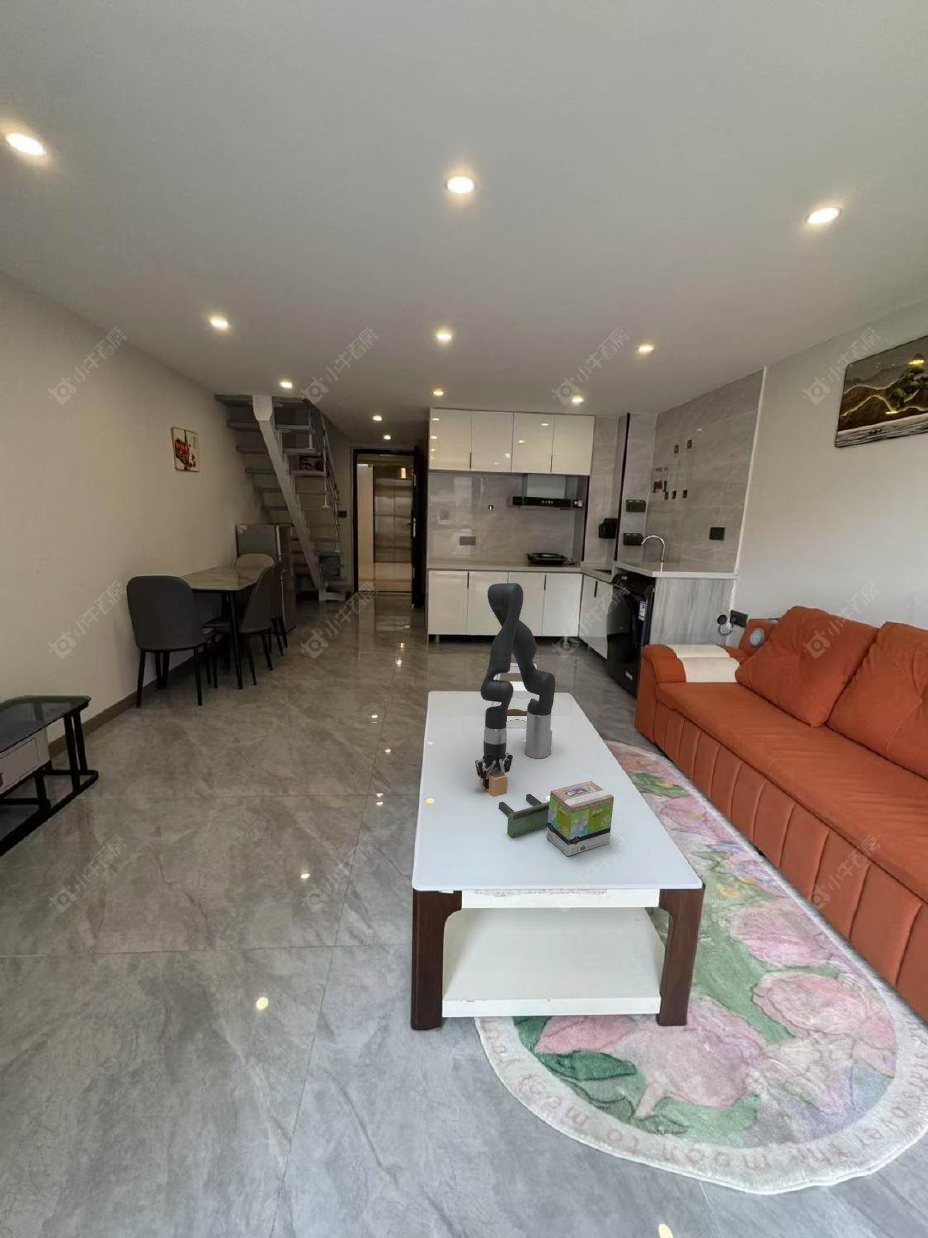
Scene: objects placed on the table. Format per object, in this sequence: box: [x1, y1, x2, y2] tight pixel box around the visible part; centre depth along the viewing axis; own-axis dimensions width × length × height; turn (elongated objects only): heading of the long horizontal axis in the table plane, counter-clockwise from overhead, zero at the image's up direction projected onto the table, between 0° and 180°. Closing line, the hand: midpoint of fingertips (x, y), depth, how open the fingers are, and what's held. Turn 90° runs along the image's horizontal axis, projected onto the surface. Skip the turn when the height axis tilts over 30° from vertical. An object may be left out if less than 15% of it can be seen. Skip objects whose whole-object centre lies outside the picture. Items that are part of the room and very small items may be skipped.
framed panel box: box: [479, 768, 509, 798], centre depth 167 cm, size 5×9×6 cm, turn 29°
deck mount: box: [498, 793, 550, 839], centre depth 152 cm, size 22×15×7 cm
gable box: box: [490, 662, 543, 729], centre depth 224 cm, size 22×13×28 cm, turn 91°
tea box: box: [546, 780, 615, 857], centre depth 139 cm, size 15×10×15 cm, turn 117°
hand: (493, 786), depth 168 cm, fingers closed on framed panel box, 5 cm apart
